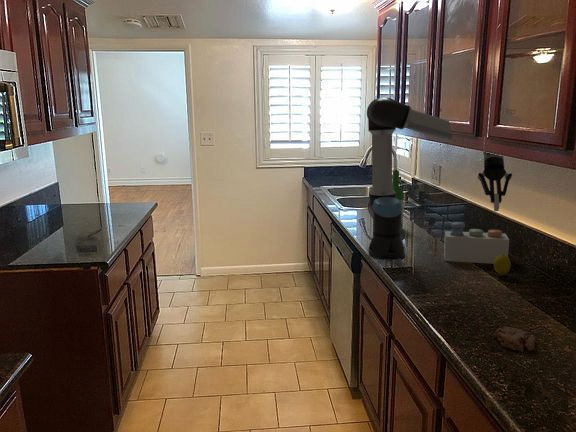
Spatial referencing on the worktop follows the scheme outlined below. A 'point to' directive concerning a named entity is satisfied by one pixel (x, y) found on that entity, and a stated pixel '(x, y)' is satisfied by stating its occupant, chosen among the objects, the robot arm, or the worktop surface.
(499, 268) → the lemon
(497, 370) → the worktop surface
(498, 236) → the button terracotta
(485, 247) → the console
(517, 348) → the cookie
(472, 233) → the button green
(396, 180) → the wine bottle
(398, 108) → the robot arm
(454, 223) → the button blue
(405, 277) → the worktop surface
